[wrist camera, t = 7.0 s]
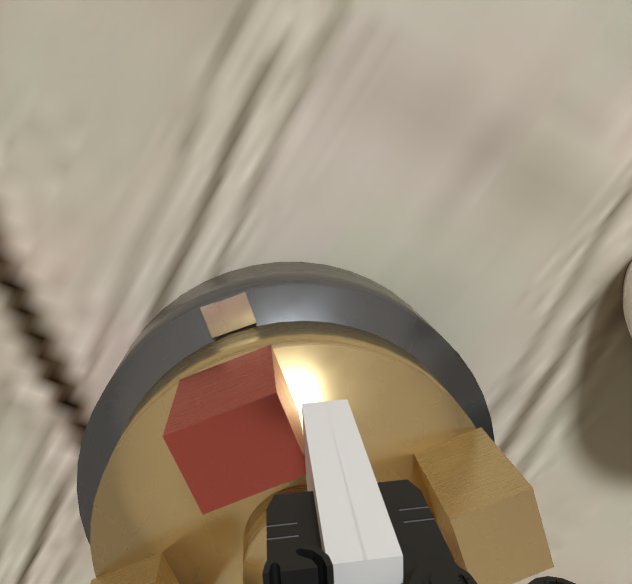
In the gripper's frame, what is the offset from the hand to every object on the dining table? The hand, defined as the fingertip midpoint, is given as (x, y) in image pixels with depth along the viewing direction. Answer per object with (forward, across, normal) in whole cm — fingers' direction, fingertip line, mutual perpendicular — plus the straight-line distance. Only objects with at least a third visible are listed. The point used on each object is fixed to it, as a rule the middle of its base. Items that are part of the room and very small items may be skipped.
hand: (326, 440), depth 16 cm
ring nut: (+7, -1, -7) cm, 10 cm away
